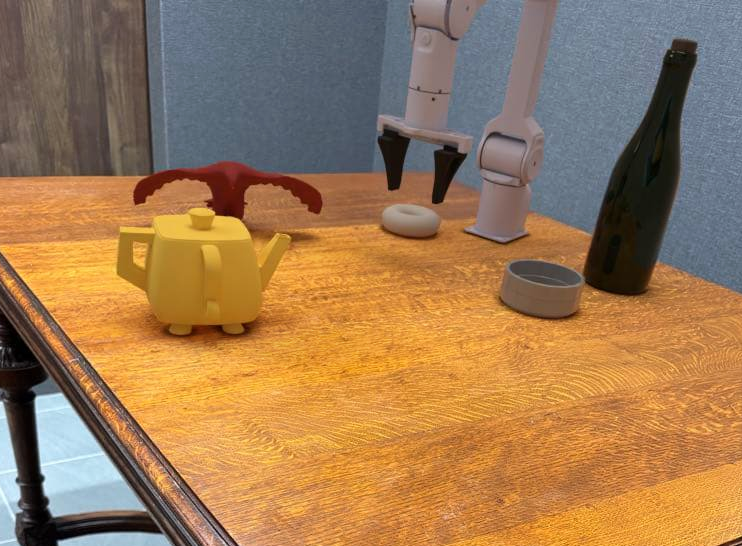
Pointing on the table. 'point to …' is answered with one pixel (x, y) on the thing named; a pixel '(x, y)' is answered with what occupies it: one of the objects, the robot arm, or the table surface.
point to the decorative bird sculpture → (229, 186)
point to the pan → (541, 288)
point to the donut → (410, 220)
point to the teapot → (200, 269)
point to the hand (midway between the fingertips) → (415, 196)
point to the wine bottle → (643, 185)
